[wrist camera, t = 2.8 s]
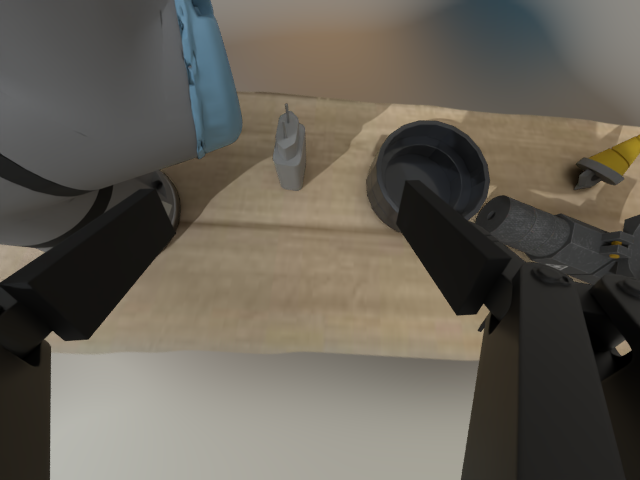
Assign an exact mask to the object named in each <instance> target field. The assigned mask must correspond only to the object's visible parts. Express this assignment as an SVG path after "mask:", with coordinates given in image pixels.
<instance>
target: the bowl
mask: <svg viewBox="0 0 640 480" xmlns="http://www.w3.org/2000/svg"><path fill="white" fill-rule="evenodd" d="M405 180H420V181H421V182H422V183H423V184H425V185H426V186H427V187H428V188H429V189H431V190H432V191H433V192H434V193H435V194H436V195H438V196H439V197H440V198H441V199H442V200H444V201H445V202H446V203H447V204H448V205H450V206H451V207H452V208H453V209H454V210H456V211H457V212H458V213H459V214H460V215H462V216H463V217H464V218H465V219H466V220H469V219H470V218H471V217H473V216H474V215H475V214H476V213H478V211H479V210H480V208H481V207H482V205H483V203H484V201H485V200H486V198H487V194H488V189H489V183H490V178H489V171H488V164H487V162H486V160H485V158H484V156H483V154H482V152H481V150H480V148H479V147H478V146H477V145H476V144H475V143H474V141H473V140H472V139H471V138H470V137H469V136H468V135H467V134H465V133H464V132H462V131H460V130H459V129H457V128H456V127H454V126H452V125H449V124H445V123H442V122H439V121H416V122H412V123H409V124H406V125H403V126H401V127H400V128H399V129H397V130H396V131H394V132H393V133H391V134H390V135H389V136H388V138H387V139H386V141H385V142H384V143H383V145H382V146H381V148H380V150H379V151H378V153H377V155H376V157H375V159H374V161H373V162H372V164H371V166H370V169H369V173H368V176H367V180H366V183H367V196H368V198H369V201H370V203H371V206H372V209H373V210H374V211H375V213H376V214H377V215H378V216H379V218H380V219H381V220H382V221H383V222H384V223H385V224H387V225H388V226H390V227H391V228H393V229H394V230H395V231H398V232H401V231H400V229H399V228H398V226H397V225H396V221H397V216H398V212H399V207H400V203H401V198H402V194H403V189H404V185H405ZM401 233H402V232H401Z"/></svg>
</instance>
